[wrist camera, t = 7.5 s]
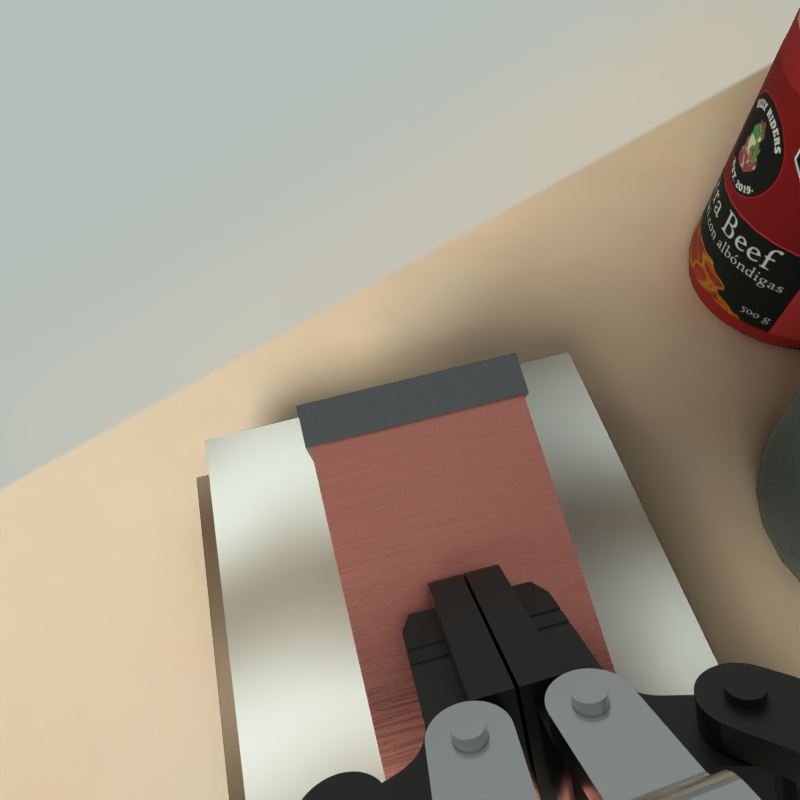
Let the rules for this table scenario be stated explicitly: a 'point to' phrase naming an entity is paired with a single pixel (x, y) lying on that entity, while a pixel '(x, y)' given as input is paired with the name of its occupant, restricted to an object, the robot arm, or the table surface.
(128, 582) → the table surface
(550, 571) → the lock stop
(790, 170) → the canned food
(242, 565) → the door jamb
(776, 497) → the bottle
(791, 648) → the table surface
